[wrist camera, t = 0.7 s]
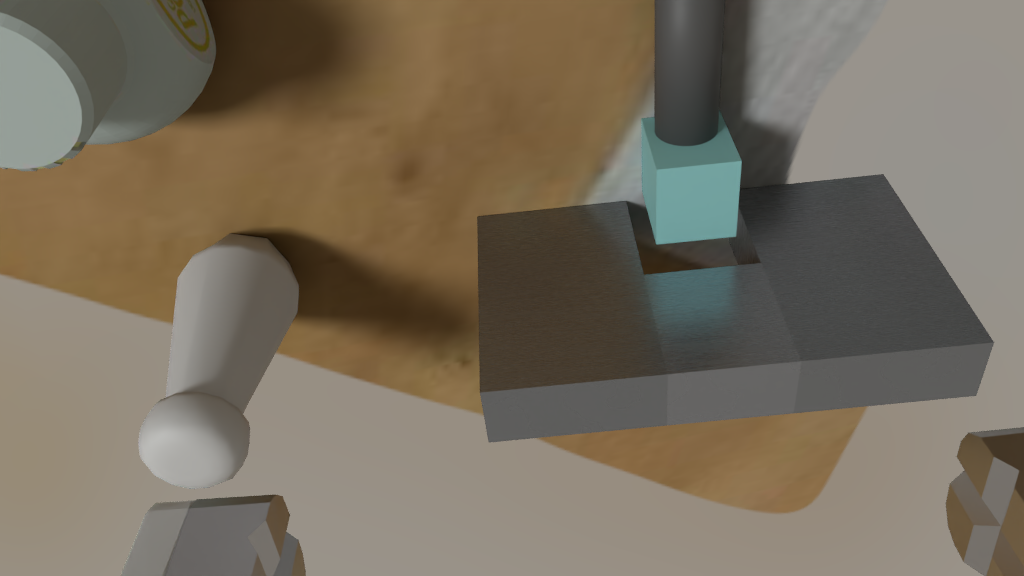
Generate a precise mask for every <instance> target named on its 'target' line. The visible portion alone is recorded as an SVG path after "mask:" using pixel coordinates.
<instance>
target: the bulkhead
mask: <svg viewBox="0 0 1024 576" xmlns="http://www.w3.org/2000/svg"><path fill="white" fill-rule="evenodd" d="M477 226H478V293H479V360H480V396H481V401H482V407H483V412H484V417H485V424H486V429H487V435H488V440H489V442H498V441H508V440H518V439H529V438H539V437H550V436H560V435H571V434H581V433H592V432H602V431H613V430H623V429H634V428H644V427H654V426H665V425H675V424H686V423H696V422H707V421H717V420H728V419H738V418H748V417H759V416H769V415H780V414H790V413H801V412H811V411H822V410H832V409H842V408H853V407H863V406H874V405H884V404H894V403H904V402H916V401H925V400H935V399H946V398H957V397H968V396H976V394H977V391H978V388H979V385H980V383H981V379H982V376H983V373H984V371H985V368H986V365H987V362H988V359H989V356H990V352H991V350H992V347H993V343H994V342H993V340H992V339H991V337H990V336H989V334H988V333H987V331H986V330H985V328H984V327H983V325H982V323H981V322H980V320H979V319H978V317H977V316H976V315H975V313H974V311H973V310H972V308H971V307H970V305H969V304H968V302H967V301H966V299H965V298H964V296H963V295H962V293H961V292H960V290H959V289H958V287H957V286H956V284H955V282H954V281H953V279H952V278H951V276H950V275H949V273H948V272H947V270H946V269H945V267H944V266H943V264H942V263H941V261H940V260H939V258H938V257H937V255H936V254H935V252H934V251H933V249H932V247H931V246H930V244H929V243H928V241H927V240H926V239H925V237H924V235H923V234H922V232H921V231H920V230H919V228H918V226H917V225H916V223H915V222H914V220H913V219H912V217H911V216H910V214H909V213H908V211H907V210H906V208H905V206H904V205H903V203H902V202H901V200H900V199H899V197H898V196H897V194H896V193H895V191H894V190H893V188H892V187H891V185H890V184H889V182H888V181H887V179H886V178H885V176H884V175H883V174H881V175H873V176H862V177H853V178H843V179H834V180H824V181H814V182H805V183H796V184H786V185H776V186H766V187H757V188H747V189H740V191H739V204H738V218H737V231H736V237H728V239H729V242H730V245H731V247H732V250H733V253H734V255H735V258H736V261H737V263H738V265H736V266H726V267H716V268H706V269H697V270H687V271H677V272H667V273H657V274H647V275H644V273H643V269H642V265H641V261H640V257H639V253H638V248H637V244H636V240H635V236H634V232H633V228H632V224H631V219H630V215H629V211H628V207H627V203H626V201H623V202H613V203H604V204H594V205H585V206H575V207H566V208H556V209H546V210H537V211H527V212H518V213H508V214H499V215H489V216H479V217H477Z"/></svg>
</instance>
